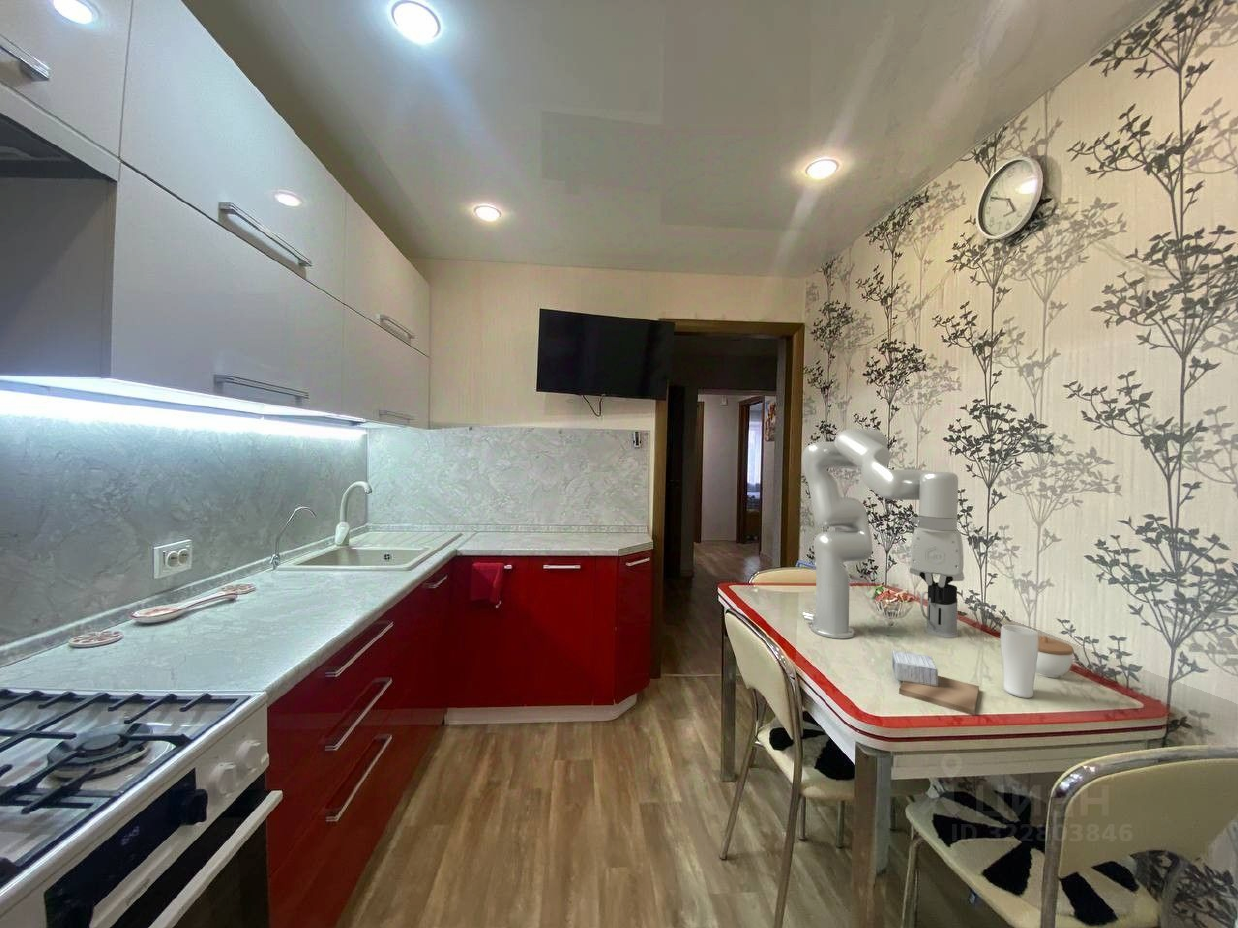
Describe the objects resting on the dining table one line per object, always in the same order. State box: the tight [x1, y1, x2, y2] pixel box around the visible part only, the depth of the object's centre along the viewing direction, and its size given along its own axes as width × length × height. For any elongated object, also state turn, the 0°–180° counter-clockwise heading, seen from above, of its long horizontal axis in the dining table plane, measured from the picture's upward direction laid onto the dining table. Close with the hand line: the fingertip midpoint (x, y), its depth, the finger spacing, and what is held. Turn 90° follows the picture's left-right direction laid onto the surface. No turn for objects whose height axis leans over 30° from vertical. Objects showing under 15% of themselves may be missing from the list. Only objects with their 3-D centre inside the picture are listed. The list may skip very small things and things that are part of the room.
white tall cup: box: [1000, 624, 1039, 699], centre depth 111 cm, size 7×7×15 cm
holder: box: [919, 581, 959, 639], centre depth 149 cm, size 9×14×15 cm, turn 113°
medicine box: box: [891, 650, 939, 686], centre depth 117 cm, size 8×4×9 cm
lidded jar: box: [1035, 635, 1074, 679], centre depth 123 cm, size 11×11×9 cm
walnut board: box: [898, 675, 980, 716], centre depth 111 cm, size 14×14×1 cm
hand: (935, 601), depth 112 cm, fingers closed
